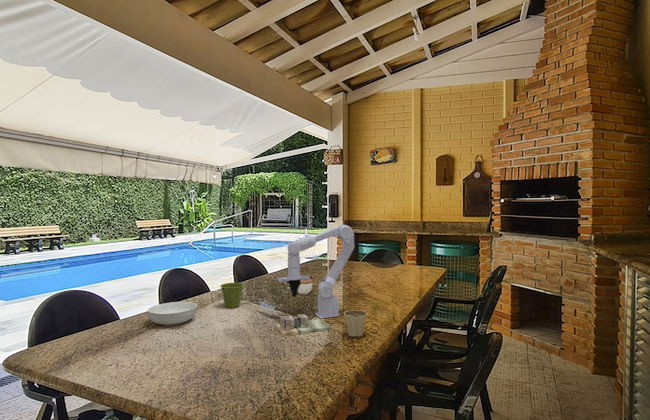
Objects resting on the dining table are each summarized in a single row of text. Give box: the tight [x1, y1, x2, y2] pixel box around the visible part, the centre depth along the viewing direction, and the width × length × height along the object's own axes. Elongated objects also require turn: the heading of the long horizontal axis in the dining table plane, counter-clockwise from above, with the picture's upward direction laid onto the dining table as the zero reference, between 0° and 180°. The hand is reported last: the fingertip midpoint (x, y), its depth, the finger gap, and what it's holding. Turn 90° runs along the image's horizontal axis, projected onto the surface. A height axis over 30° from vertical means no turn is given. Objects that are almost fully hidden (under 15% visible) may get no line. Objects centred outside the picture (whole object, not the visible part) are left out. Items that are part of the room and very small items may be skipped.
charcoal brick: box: [285, 317, 301, 327], centre depth 159 cm, size 9×3×3 cm, turn 111°
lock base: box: [276, 313, 332, 337], centre depth 160 cm, size 20×12×5 cm, turn 111°
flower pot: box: [343, 309, 368, 338], centre depth 152 cm, size 9×9×9 cm
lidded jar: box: [297, 278, 314, 295], centre depth 224 cm, size 11×11×9 cm
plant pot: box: [219, 282, 245, 309], centre depth 195 cm, size 12×12×11 cm
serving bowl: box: [147, 301, 198, 326], centre depth 170 cm, size 21×21×7 cm
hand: (294, 296), depth 177 cm, fingers closed
